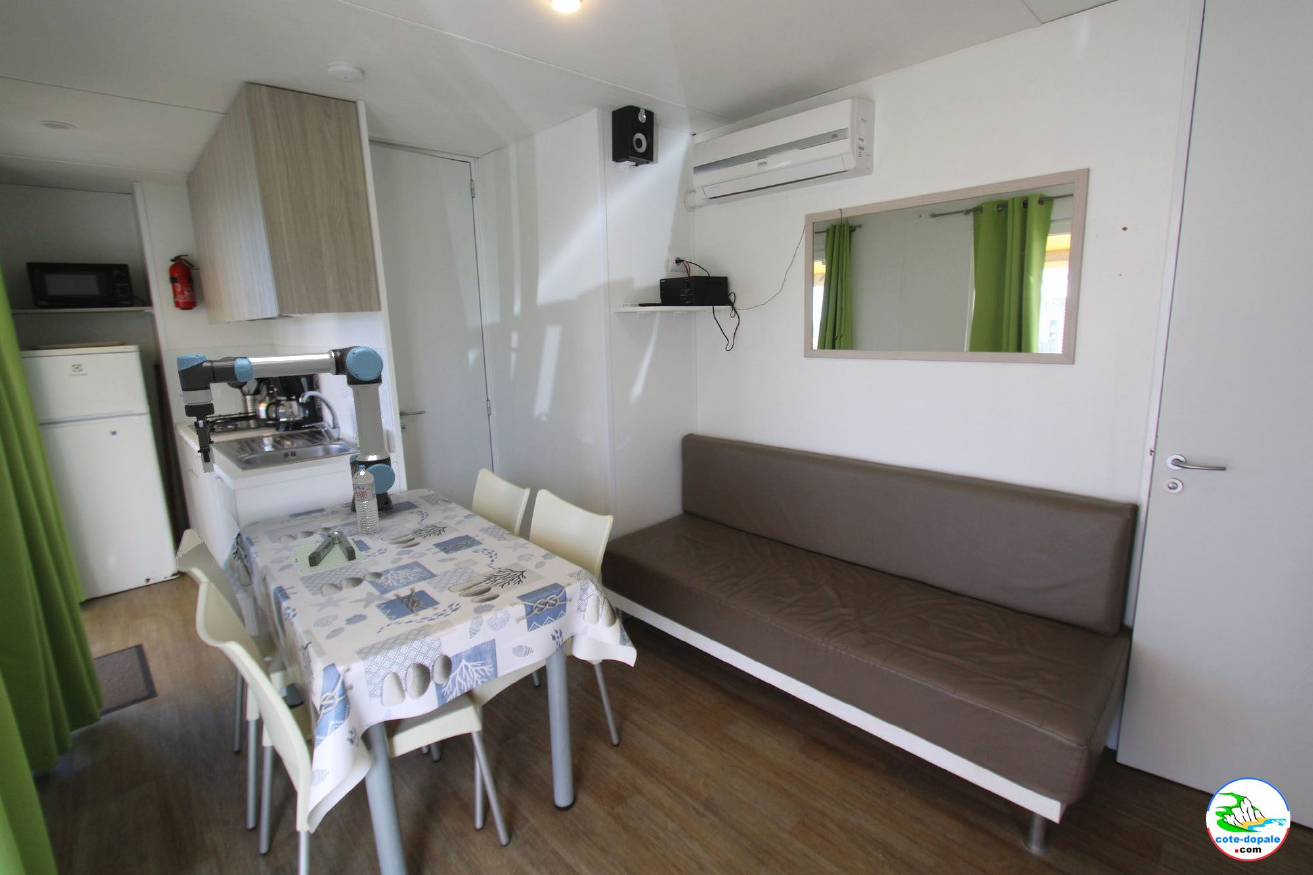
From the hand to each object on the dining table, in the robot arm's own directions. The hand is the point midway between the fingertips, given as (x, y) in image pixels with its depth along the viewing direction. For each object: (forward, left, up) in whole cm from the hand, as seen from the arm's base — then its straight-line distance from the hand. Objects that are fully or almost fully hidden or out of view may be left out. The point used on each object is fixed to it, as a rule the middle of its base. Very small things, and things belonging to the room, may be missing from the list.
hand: (209, 468), depth 198 cm
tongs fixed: (-31, +30, -27) cm, 51 cm away
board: (-27, +31, -28) cm, 50 cm away
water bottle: (-42, +17, -28) cm, 53 cm away
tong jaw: (-25, +32, -26) cm, 49 cm away
